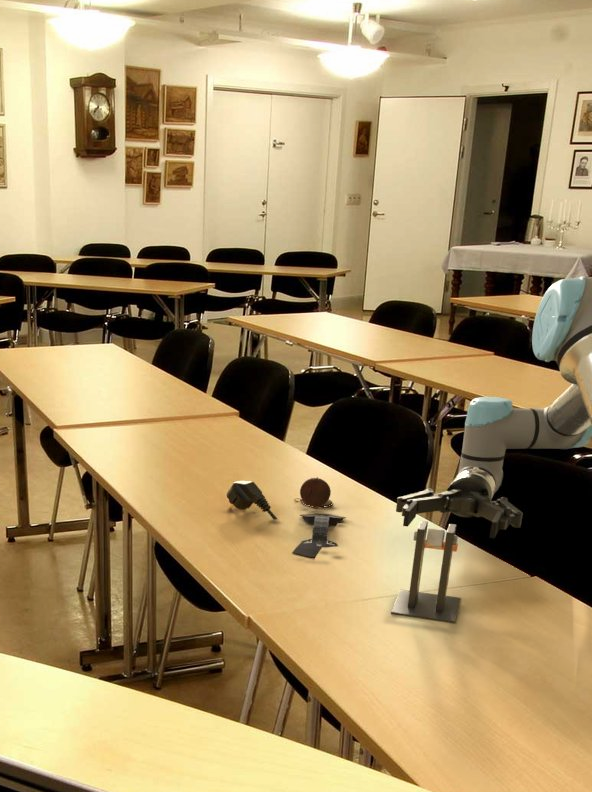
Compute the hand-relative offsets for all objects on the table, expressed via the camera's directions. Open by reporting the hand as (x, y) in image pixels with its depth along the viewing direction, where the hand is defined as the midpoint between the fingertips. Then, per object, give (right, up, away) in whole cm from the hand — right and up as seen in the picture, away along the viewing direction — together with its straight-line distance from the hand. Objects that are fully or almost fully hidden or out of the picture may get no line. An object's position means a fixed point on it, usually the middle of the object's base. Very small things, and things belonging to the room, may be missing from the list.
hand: (448, 524), depth 151 cm
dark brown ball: (-11, +7, +42) cm, 44 cm away
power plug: (-25, +5, +37) cm, 45 cm away
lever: (-6, -5, -11) cm, 13 cm away
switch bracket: (-8, -14, -11) cm, 20 cm away
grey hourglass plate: (-15, -1, +22) cm, 27 cm away
